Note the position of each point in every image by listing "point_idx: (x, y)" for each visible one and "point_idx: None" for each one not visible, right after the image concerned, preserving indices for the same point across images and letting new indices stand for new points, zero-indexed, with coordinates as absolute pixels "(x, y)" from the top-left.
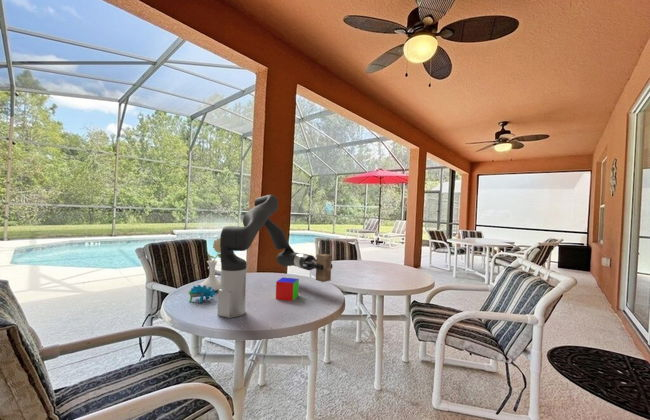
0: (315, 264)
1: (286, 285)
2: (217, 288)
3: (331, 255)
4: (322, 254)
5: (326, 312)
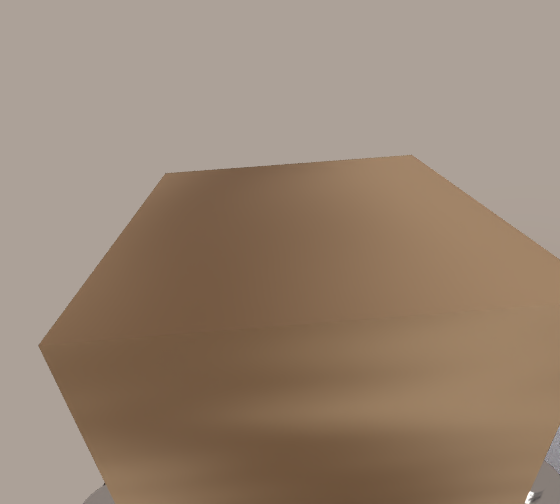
0: (551, 480)
1: None
2: None
3: (174, 178)
4: (309, 253)
5: None
